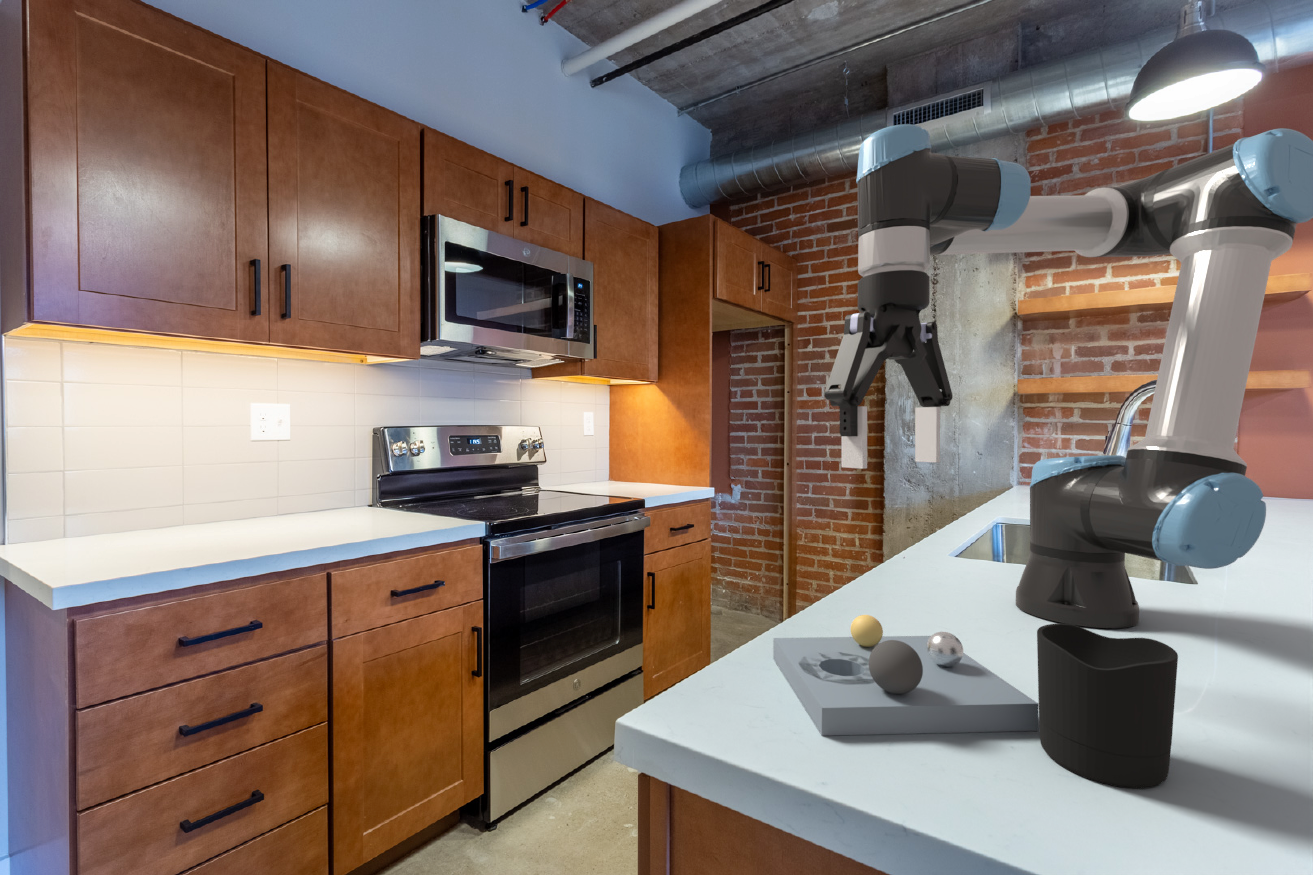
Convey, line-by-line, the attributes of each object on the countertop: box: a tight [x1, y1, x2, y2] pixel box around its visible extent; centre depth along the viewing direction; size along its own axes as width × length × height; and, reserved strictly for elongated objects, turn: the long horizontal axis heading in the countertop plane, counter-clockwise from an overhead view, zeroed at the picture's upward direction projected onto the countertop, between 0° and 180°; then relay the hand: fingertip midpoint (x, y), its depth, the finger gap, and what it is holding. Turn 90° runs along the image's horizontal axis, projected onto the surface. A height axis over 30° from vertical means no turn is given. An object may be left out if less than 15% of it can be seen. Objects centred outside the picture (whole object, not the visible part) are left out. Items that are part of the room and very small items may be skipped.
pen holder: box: [1036, 623, 1179, 789], centre depth 52 cm, size 9×9×10 cm
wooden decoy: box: [850, 614, 884, 647], centre depth 71 cm, size 4×4×4 cm
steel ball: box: [927, 631, 964, 667], centre depth 65 cm, size 4×4×4 cm
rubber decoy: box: [869, 640, 923, 694], centre depth 59 cm, size 5×5×5 cm
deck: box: [772, 635, 1039, 736], centre depth 65 cm, size 20×18×2 cm
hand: (892, 465), depth 70 cm, fingers open, 13 cm apart
